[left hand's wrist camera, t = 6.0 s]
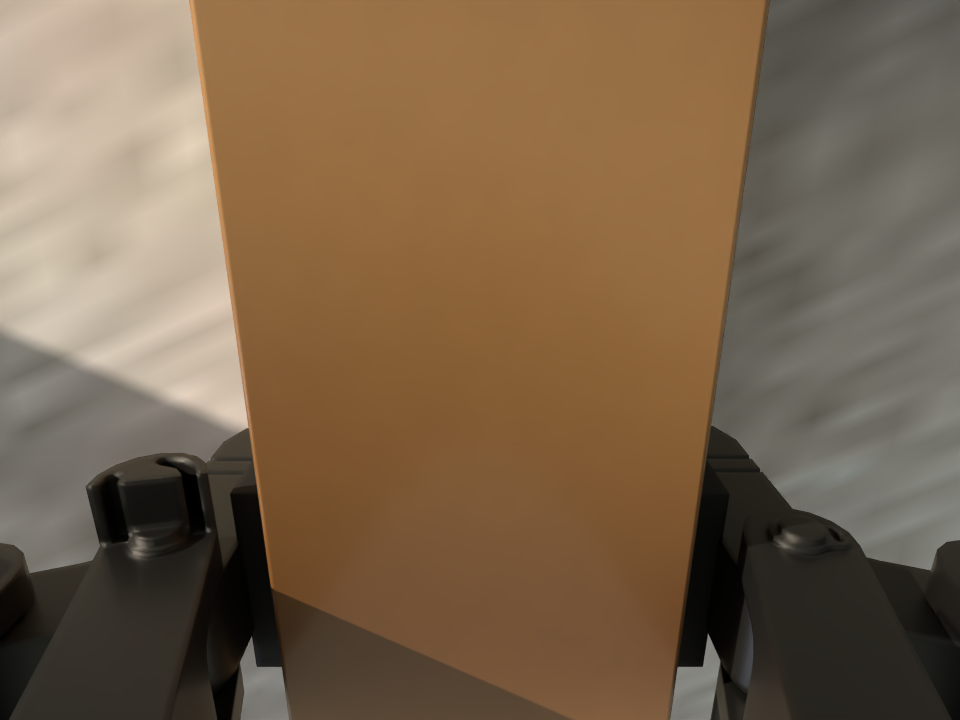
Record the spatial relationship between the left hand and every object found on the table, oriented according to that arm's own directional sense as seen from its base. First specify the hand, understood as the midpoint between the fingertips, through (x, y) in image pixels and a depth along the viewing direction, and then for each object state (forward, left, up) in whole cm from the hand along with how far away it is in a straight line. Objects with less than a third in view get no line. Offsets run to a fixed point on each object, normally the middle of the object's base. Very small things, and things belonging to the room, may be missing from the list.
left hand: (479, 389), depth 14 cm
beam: (+9, +27, -1) cm, 28 cm away
